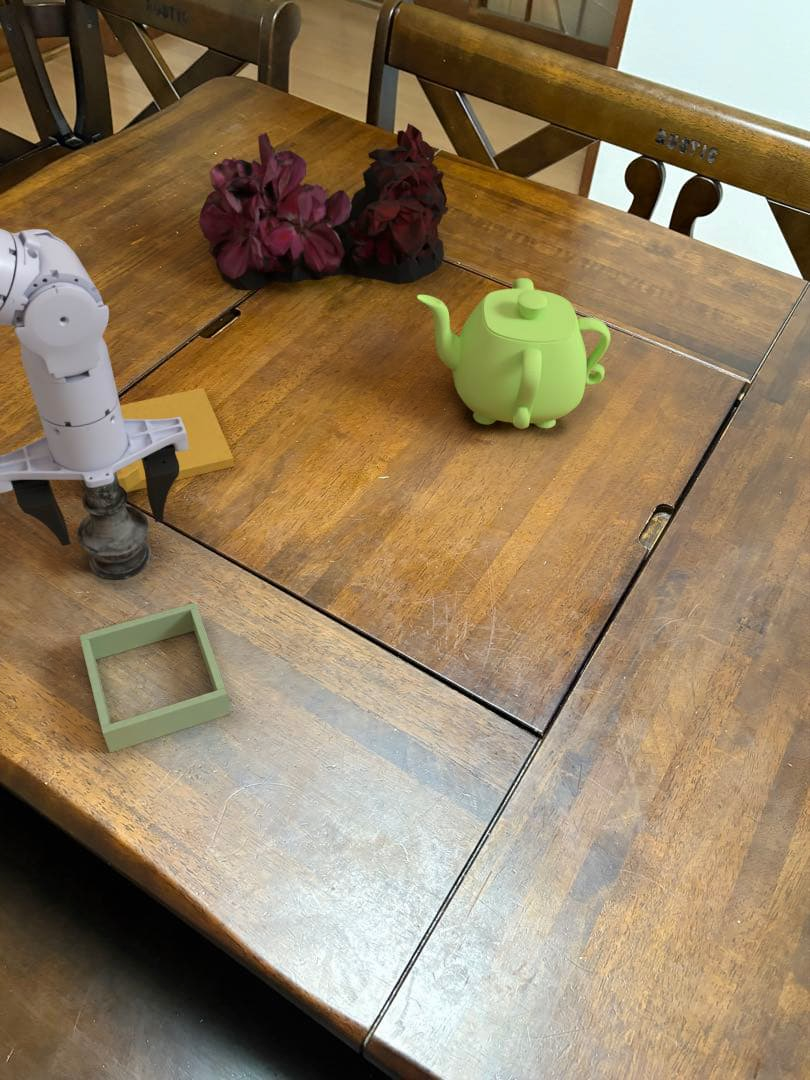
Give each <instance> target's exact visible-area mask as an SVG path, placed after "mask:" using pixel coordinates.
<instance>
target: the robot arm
mask: <svg viewBox="0 0 810 1080" xmlns="http://www.w3.org/2000/svg"><path fill="white" fill-rule="evenodd" d="M109 319H110V309H109V306H108V305H106V304H104V301H103V298H102V295H101V293H100V291H99V289H98V287H96V285H95V283H94V282H93V280H92V278H91V277H90V274H89V273H88V272H87V270H86V268H85V267H84V265H83V263H82V262H81V260H80V258H79V256H77V254H76V253H75V251H74V250H73V249H72V248H71V247H70V245H68V244H67V243H66V242H65V241H64V240H63V239H61V238H59V237H57V236H56V235H54V234H53V233H52V232H50V231H49V230H48V229H42V228H34V229H33V228H32V229H25V230H21V231H18V232H10V231H8V230H6V229H3V228H0V325H1V326H8V327H14V330H13V331H14V334H15V336H16V338H17V340H18V341H19V345H20V348H21V351H20V355H21V356H20V357H21V358H20V359H21V362H22V365H23V366H22V367H23V369H24V372H25V374H26V378H27V382H28V385H29V387H30V391H31V395H32V397H33V401H34V403H35V407H36V410H37V413H38V416H39V419H40V422H41V425H42V426H41V427H42V430H43V432H44V436H42V437H40V438H38V439H36V440H33V441H32V442H29V443H27V444H25V445H23V446H21V447H19V448H16V449H15V450H12V451H10V452H7V453H4V454H2V455H0V494H4V493H8V492H11V491H13V490H14V495H15V498H16V503H17V505H18V507H19V508H20V510H21V511H22V512H23V513H24V514H26V515H29V516H31V517H33V518H34V519H36V520H38V521H39V522H41V523H42V524H43V525H44V526H45V527H46V528H48V529H49V531H51V533H52V534H53V535H54V536H55V537H56V538H57V539H58V541H59V543H60V544H61V546H63V547H65V546H68V545H72V544H71V539H70V536H69V531H68V527H67V524H66V520H65V518H64V515H63V513H62V511H61V508H60V506H59V504H58V502H57V499H56V497H55V493H54V491H53V488H52V485H51V481H53V480H54V481H80V480H84V481H85V483H86V485H87V487H90V488H94V487H98V486H102V485H107V484H110V483H112V482H113V481H114V475H113V474H114V472H116V471H118V470H120V469H122V468H124V467H126V466H128V465H130V464H132V463H134V462H136V461H138V460H140V459H142V463H143V467H144V471H145V477H146V486H147V488H146V495H147V499H148V504H149V507H150V510H151V513H152V516H153V520H154V523H160V522H163V521H164V512H165V506H166V501H167V498H168V495H169V492H170V490H171V488H172V486H173V484H174V482H175V479H176V478H177V477H178V475H179V462H178V459H177V456H176V454H175V451H176V452H180V451H185V450H188V449H189V446H188V440H187V434H186V430H185V428H184V425H183V422H182V420H181V417H176V418H170V419H123V416H122V411H121V407H120V405H121V403H120V400H119V394H118V389H117V384H116V381H115V377H114V372H113V367H112V364H111V363H112V362H111V358H110V353H109V351H108V350H109V349H108V345H107V343H106V341H105V339H104V337H103V336H104V333H105V331H106V329H107V326H108V323H109Z"/></svg>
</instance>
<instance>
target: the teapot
mask: <svg viewBox="0 0 810 1080" xmlns="http://www.w3.org/2000/svg"><path fill="white" fill-rule="evenodd" d="M416 298H417V300H418V301H420V302H421V303H422V304H424V305H425V307H427V308H428V309H429V311H430V312H431V314H432V318H433V322H434V345H435V350H436V353H437V355H438V357H439V359H440V360H441V362H442V363H443V364H444V366H446V367H448V369H451V370H452V379H453V384H454V387H455V389H456V392H457V394H458V396H459V397H460V399H461V401H462V402H463V403H464V404H465V406H466V407H468V409H469V410H471V412H473V413H472V417H473V419H474V421H475V422H477V423H479V424H481V425H491V424H494V423H495V422H496V421H500V422H505V423H510V424H512V425H513V426H514V427H515V428H517V429H519V430H523V429H524V430H525V429H526V428H529V426H530V424H533V425H535V427H538V428H541V429H550V428H553V427H554V426H555V425H556V424H557V421H556V420H557V419H561V418H562V417H564V416H566V415H567V414H569V413H570V412H572V411H573V410H575V409H576V408H577V407H578V406H579V405H580V403H581V401H582V399H583V398H584V394H585V390H586V386H595V385H599V384H600V383H601V382H602V381H603V380H604V377H605V368H604V367H603V365H602V364H600V363H599V361H601V359H602V358H603V356H604V355H605V353H606V352H607V350H608V348H609V345H610V342H611V331H610V329H609V327H608V326H607V325H606V323H604V322H603V321H602V320H600V319H597V318H595V317H590V316H588V317H587V316H586V317H577V314H576V311H575V308H574V306H573V305H572V303H571V302H570V301H569V300H568V299H567V298H565V297H563V296H562V295H559V294H556V293H553V292H549V291H545V290H540V289H535V286H534V281H532V279H530V278H527V277H519V278H516V279H515V280H514V281H513V283H512V287H511V288H505V289H498V290H494V291H491V292H489V293H488V294H486V295H485V296H484V297H483V298H482V299H481V300H480V301H479V303H478V304H477V305H476V307H475V308H474V309H473V311H472V312H471V313H470V314H469V316H468V317H467V319H466V320H465V322H464V324H463V326H462V329H461V330H460V332H459V335H457V334H455V333H454V332H453V331H452V329H451V324H450V323H451V322H450V313H449V309H448V307H447V305H446V303H444V301H442V300H440V299H439V298H437V297H435V296H432V295H428V294H417V295H416ZM582 331H592V332H596V333H598V334H599V335H600V339H599V341H598V343H597V345H596V347H595V348H594V349H593V351H592V352H591V353H590V355H589V356H588V357H587V350H586V345H585V341H584V336H583V332H582ZM591 372H593V373H591ZM594 372H595V373H594Z"/></svg>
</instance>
